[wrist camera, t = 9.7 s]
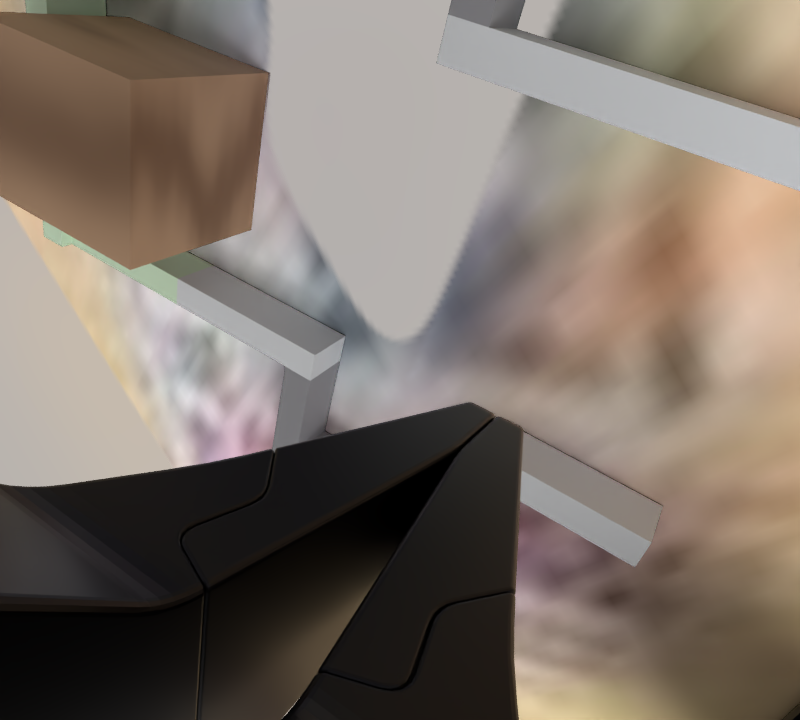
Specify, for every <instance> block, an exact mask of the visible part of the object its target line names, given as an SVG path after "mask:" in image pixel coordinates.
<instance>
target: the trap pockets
mask: <svg viewBox="0 0 800 720" xmlns="http://www.w3.org/2000/svg"><path fill="white" fill-rule="evenodd" d="M524 3H525V0H452V1H451V5H450V9H449V13H448V15H451V16H455V17H458V18H461V19H464V20H467V21H470V22H473V23H476V24H479V25H483V26H486V27H489V28H507V29H517V26H518V23H519V19H520V16H521V13H522V9H523V6H524ZM339 363H340V361H339V362H337V363H336V364H334V365H333V366H331V367H330V368H328V369H327V370H325V371H324V372H323V373H321V374H320V375H318V376H317V377H315V378H314V379H312V380H311V381H310V380H308V379H306V378H304V377H303V376H301V375H299V374H297V373H296V372H294V371H292V370H290V369H289V368H287V367H285V373H284V379H283V386H282V392H281V398H280V404H279V410H278V416H277V422H276V428H275V435H274V441H273V447H272V450H273V451H274V452H275V449H276V448H278V447H282V446H286V445H291V444H295V443H299V442H303V441H308V440H312V439H316V438H320V437H324V436H329V435H331V434H329V433H327V432H326V431H325V427H326V422H327V418H328V413H329V409H330V404H331V400H332V395H333V390H334V386H335V381H336V377H337V372H338V368H339Z"/></svg>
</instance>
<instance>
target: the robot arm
mask: <svg viewBox="0 0 800 720" xmlns="http://www.w3.org/2000/svg"><path fill="white" fill-rule="evenodd" d="M523 436H524V432H523V429H522V428H521V427H520V426H518V425H516V424H514V423H512V422H510V421H508V420H506V419H504V418H502V417H496V418H495V416H494V414H493V413H492V412H490V411H488V410H486V409H484V408H482V407H480V406H478V405H476V404H474V403H464V404H459V405H455V406H451V407H447V408H442V409H438V410H434V411H430V412H426V413H421V414H417V415H413V416H409V417H405V418H400V419H396V420H392V421H388V422H383V423H379V424H375V425H371V426H367V427H362V428H358V429H354V430H350V431H345V432H341V433H337V434H333V435H329V436H324V437H320V438H316V439H312V440H308V441H303V442H299V443H295V444H291V445H286V446H282V447H278V448H276V449H275V452H274V451H273V450H272V449H269V450H265V451H260V452H256V453H252V454H248V455H243V456H238V457H234V458H229V459H224V460H219V461H215V462H210V463H204V464H198V465H192V466H186V467H180V468H174V469H168V470H161V471H154V472H148V473H141V474H134V475H127V476H120V477H113V478H106V479H99V480H93V481H86V482H79V483H72V484H65V485H55V486H47V487H22V486H9V485H3V484H0V720H519V717H518V707H517V695H516V680H515V666H514V618H515V596H514V595H515V591H516V571H517V552H518V533H519V513H520V494H521V474H522V455H523ZM300 696H301V697H300ZM297 700H298V701H297ZM296 701H297V702H296ZM295 702H296V703H295ZM294 703H295V705H294ZM293 705H294V706H293ZM292 706H293V707H292ZM291 707H292V708H291ZM290 708H291V710H290V711H289V712H288V710H289V709H290ZM287 712H288V714H286V713H287ZM285 714H286V715H285ZM284 715H285V716H284ZM283 716H284V717H283ZM782 720H800V704H799V705H797V706H796V707H795V708H794V709H793V710H792V711H791V712H790V713H789V714H788V715H787V716H786V717H784V718H783V719H782Z"/></svg>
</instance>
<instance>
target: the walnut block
mask: <svg viewBox="0 0 800 720" xmlns="http://www.w3.org/2000/svg"><path fill="white" fill-rule="evenodd" d="M269 82H270V72H265V71H263V70H260V69H258V68H255V67H253V66H250V65H248V64H245V63H243V62H240V61H238V60H235V59H233V58H230V57H228V56H225V55H222V54H220V53H217V52H215V51H212V50H210V49H207V48H205V47H202V46H200V45H197V44H195V43H192V42H190V41H187V40H185V39H182V38H180V37H177V36H175V35H172V34H170V33H167V32H164V31H162V30H159V29H157V28H154V27H152V26H149V25H147V24H144V23H142V22H139V21H137V20H134V19H132V18H129V17H114V16H89V15H64V14H39V13H14V12H0V196H1V197H3V198H5V199H6V200H8V201H10V202H12V203H14V204H15V205H17V206H19V207H21V208H22V209H24V210H26V211H28V212H29V213H31V214H33V215H35V216H36V217H38V218H40V219H42V220H43V221H45V222H47V223H49V224H50V225H52V226H54V227H56V228H57V229H59V230H61V231H63V232H64V233H66V234H68V235H70V236H71V237H73V238H75V239H77V240H78V241H80V242H82V243H84V244H85V245H87V246H89V247H91V248H92V249H94V250H96V251H98V252H99V253H101V254H103V255H105V256H106V257H108V258H110V259H112V260H114V261H115V262H117V263H119V264H121V265H122V266H124V267H126V268H128V269H129V270H132V269H135V268H138V267H141V266H144V265H147V264H150V263H153V262H156V261H159V260H162V259H165V258H168V257H171V256H174V255H177V254H180V253H183V252H186V251H189V250H192V249H195V248H198V247H201V246H204V245H207V244H210V243H213V242H216V241H219V240H222V239H225V238H228V237H231V236H234V235H237V234H240V233H243V232H246V231H249V230H251V226H252V217H253V208H254V199H255V190H256V182H257V173H258V164H259V155H260V146H261V137H262V128H263V119H264V110H265V101H266V92H267V99H268V90H269Z"/></svg>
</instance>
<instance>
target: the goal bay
mask: <svg viewBox="0 0 800 720" xmlns="http://www.w3.org/2000/svg"><path fill="white" fill-rule="evenodd" d="M25 5H26V13H39V14H64V15H89V16H106V0H25ZM43 230H44V237H46V238H48V239H49V240H51V241H53V242H55V243H56V244H58V245H60V246H62V247H63V246H67V245H71V244H73V245H75V246H76V247H78V248H80V249H82V250H83V251H85V252H87V253H89V254H90V255H92V256H94V257H96V258H97V259H99V260H101V261H103V262H104V263H106V264H108V265H109V266H111V267H113V268H115V269H116V270H118V271H120V272H122V273H123V274H125V275H127V276H129V277H130V278H132V279H134V280H136V281H137V282H139V283H141V284H143V285H144V286H146V287H148V288H150V289H151V290H153V291H155V292H156V293H158V294H160V295H162V296H163V297H165V298H167V299H169V300H170V301H172V302H174V303H176V304H177V282H178V278H181V277H184V276H186V275H189V274H192V273H194V272H197V271H200V270H202V269H205V268H208V267H211V266H213V265H211V264H210V263H208V262H206V261H204V260H202V259H200V258H198V257H197V256H195V255H193V254H191V253H189V252H187V251H186V252H183V253H180V254H177V255H174V256H171V257H168V258H165V259H162V260H159V261H156V262H153V263H150V264H147V265H144V266H141V267H138V268H135V269H132V270H129V269H128V268H126V267H124V266H122V265H121V264H119V263H117V262H115V261H114V260H112V259H110V258H108V257H106V256H105V255H103V254H101V253H99V252H98V251H96V250H94V249H92V248H91V247H89V246H87V245H85V244H84V243H82V242H80V241H78V240H77V239H75V238H73V237H71V236H70V235H68V234H66V233H64V232H63V231H61V230H59V229H57V228H56V227H54V226H52V225H50V224H49V223H47V222H45V221H43Z"/></svg>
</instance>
